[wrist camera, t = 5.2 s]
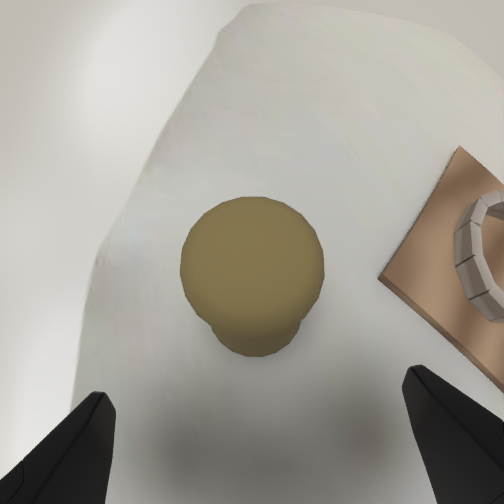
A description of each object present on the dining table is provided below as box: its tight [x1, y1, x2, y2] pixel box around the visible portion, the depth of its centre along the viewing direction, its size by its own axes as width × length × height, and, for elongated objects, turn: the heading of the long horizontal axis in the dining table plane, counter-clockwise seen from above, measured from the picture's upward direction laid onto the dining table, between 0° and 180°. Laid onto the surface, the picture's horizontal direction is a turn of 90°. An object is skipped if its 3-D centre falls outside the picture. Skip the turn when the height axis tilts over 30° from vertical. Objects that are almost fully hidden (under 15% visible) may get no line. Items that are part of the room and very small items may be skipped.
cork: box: [180, 197, 324, 357], centre depth 15 cm, size 6×6×11 cm
